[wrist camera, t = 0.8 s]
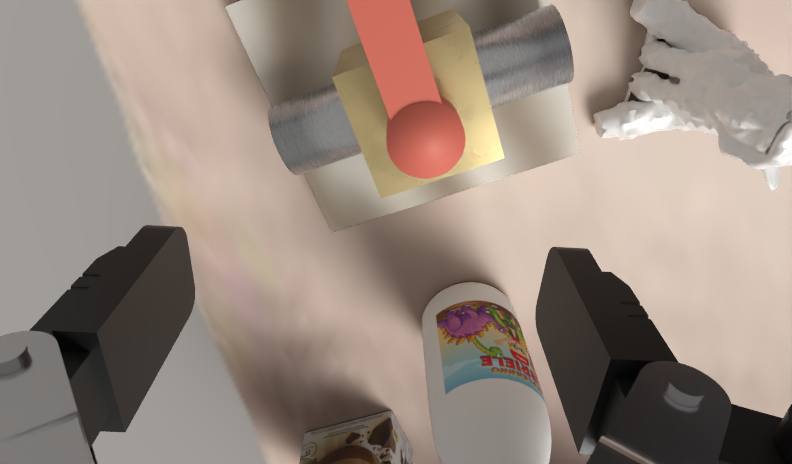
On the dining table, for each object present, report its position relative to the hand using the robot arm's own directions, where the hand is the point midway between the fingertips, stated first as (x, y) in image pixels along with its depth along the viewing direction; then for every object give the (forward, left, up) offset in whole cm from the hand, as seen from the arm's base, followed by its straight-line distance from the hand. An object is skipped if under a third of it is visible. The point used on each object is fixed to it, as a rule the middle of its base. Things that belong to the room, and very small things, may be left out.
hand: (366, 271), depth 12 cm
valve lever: (-2, -3, -16) cm, 17 cm away
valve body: (-2, +2, -24) cm, 24 cm away
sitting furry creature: (-18, +7, -25) cm, 32 cm away
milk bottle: (0, +22, -25) cm, 34 cm away
